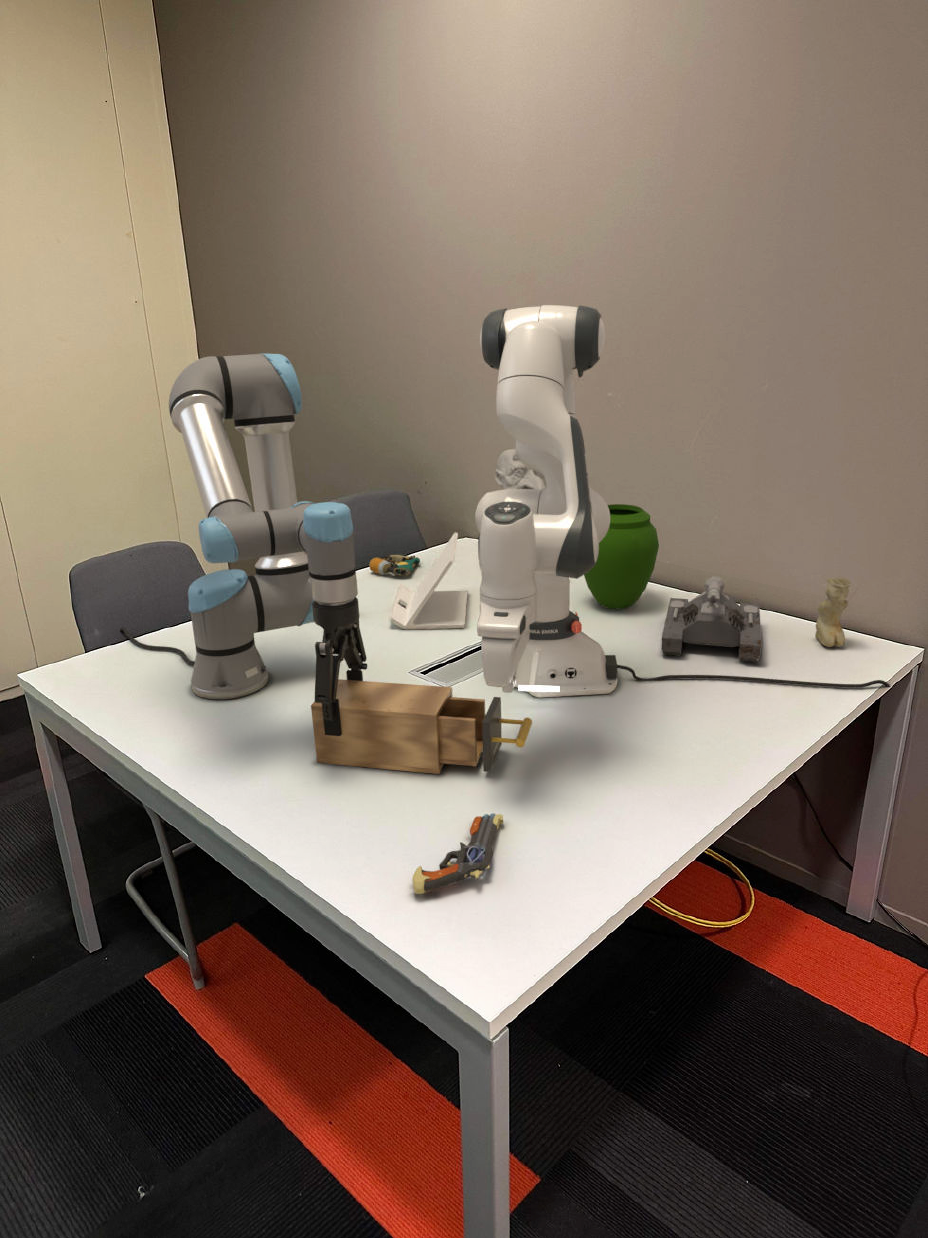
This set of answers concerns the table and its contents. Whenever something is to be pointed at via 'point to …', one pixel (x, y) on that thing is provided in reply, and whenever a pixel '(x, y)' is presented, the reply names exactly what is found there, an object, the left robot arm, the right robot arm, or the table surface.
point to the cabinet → (383, 726)
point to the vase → (624, 558)
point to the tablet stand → (431, 599)
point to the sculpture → (832, 613)
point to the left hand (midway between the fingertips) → (345, 719)
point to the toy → (713, 622)
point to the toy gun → (462, 857)
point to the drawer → (474, 732)
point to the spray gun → (394, 564)
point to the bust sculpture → (516, 473)
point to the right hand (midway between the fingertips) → (509, 688)
